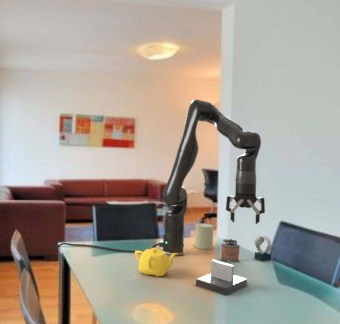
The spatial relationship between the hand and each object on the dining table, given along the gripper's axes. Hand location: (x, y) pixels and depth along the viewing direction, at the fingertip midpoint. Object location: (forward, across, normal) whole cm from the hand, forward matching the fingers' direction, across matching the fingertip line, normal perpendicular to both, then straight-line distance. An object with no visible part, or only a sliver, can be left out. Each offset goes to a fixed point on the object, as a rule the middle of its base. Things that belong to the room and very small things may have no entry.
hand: (244, 222), depth 152 cm
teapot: (+22, +34, +9) cm, 41 cm away
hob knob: (+20, +7, +11) cm, 24 cm away
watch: (+23, -8, -34) cm, 42 cm away
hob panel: (+23, +8, +11) cm, 26 cm away
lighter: (+22, +6, -25) cm, 34 cm away
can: (+22, +20, -45) cm, 54 cm away
